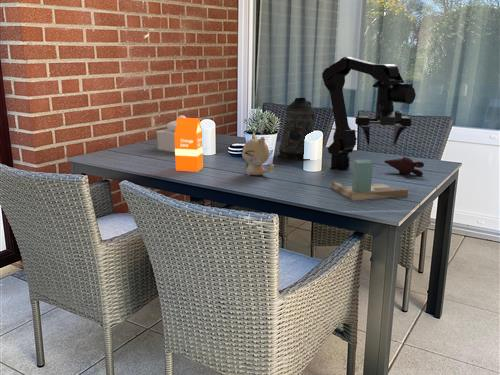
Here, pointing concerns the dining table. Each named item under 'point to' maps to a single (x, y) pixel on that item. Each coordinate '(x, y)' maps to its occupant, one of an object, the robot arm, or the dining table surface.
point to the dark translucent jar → (296, 128)
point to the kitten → (256, 156)
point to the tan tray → (370, 192)
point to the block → (362, 175)
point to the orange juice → (188, 144)
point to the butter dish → (167, 137)
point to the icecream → (406, 166)
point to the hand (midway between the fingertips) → (381, 144)
